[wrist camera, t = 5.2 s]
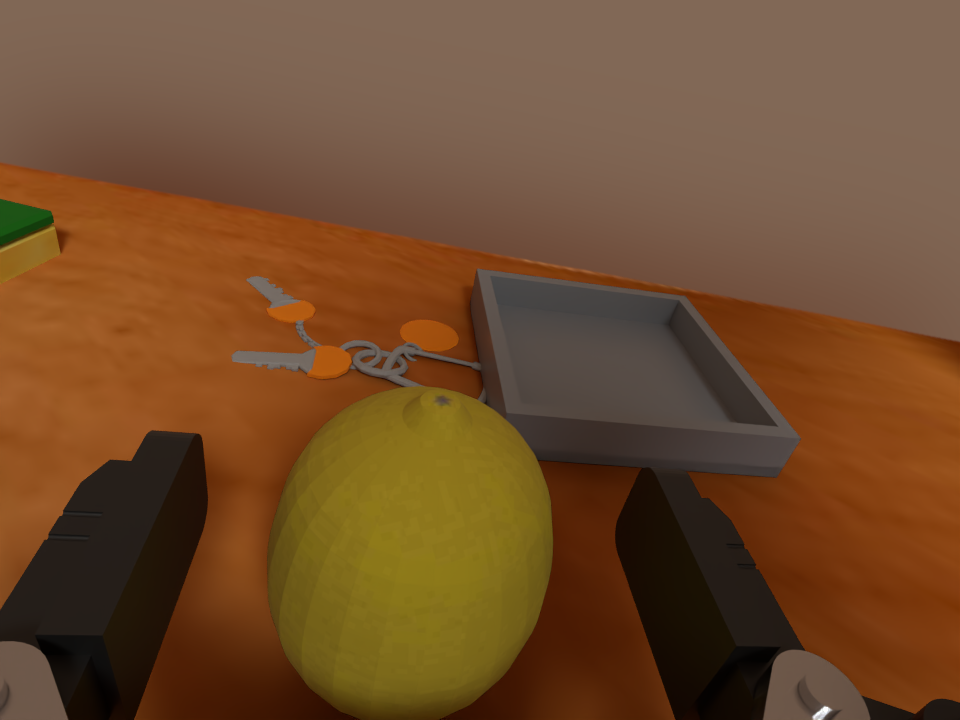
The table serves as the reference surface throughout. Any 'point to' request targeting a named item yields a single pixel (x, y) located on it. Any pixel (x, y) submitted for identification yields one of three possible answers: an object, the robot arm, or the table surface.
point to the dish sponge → (25, 238)
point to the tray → (620, 379)
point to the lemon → (409, 554)
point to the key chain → (349, 345)
